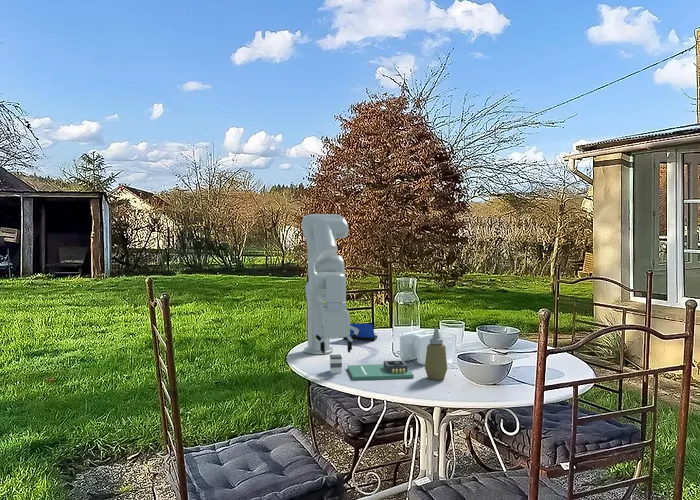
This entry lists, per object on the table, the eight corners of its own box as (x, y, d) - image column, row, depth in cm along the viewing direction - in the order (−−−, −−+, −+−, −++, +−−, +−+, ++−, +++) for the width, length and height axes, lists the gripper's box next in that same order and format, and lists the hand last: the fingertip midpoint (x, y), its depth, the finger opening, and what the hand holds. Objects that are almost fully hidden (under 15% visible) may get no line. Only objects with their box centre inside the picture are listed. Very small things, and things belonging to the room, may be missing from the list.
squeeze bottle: (442, 382, 189) (442, 331, 188) (421, 379, 193) (421, 329, 192) (450, 377, 195) (451, 328, 195) (430, 374, 200) (430, 325, 199)
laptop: (378, 338, 266) (378, 319, 266) (373, 343, 253) (373, 324, 253) (347, 336, 270) (347, 318, 270) (340, 342, 257) (340, 322, 257)
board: (347, 368, 207) (347, 356, 207) (403, 366, 210) (403, 355, 210) (353, 380, 191) (353, 367, 191) (413, 378, 194) (413, 365, 194)
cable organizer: (418, 367, 210) (418, 337, 210) (398, 362, 218) (398, 333, 217) (442, 360, 220) (442, 332, 220) (422, 356, 228) (422, 328, 227)
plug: (329, 370, 204) (329, 354, 204) (340, 370, 205) (340, 354, 204) (330, 373, 200) (330, 357, 200) (341, 373, 201) (341, 357, 200)
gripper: (313, 308, 196) (313, 355, 196) (360, 307, 199) (360, 353, 199) (312, 305, 204) (312, 351, 204) (357, 305, 206) (357, 349, 206)
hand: (336, 352), depth 201 cm, fingers open, 9 cm apart
